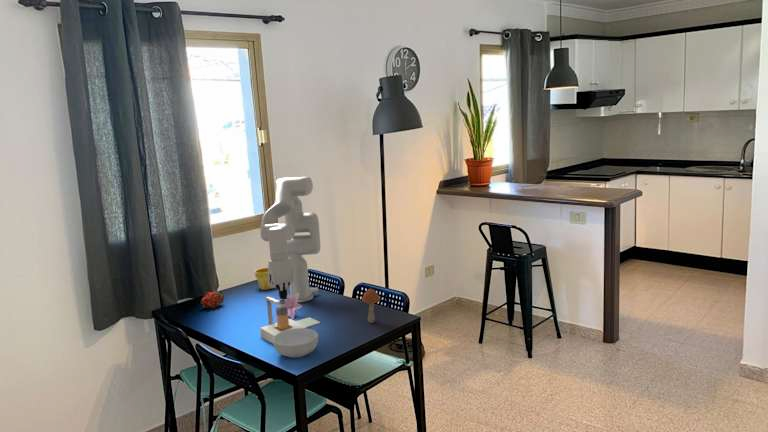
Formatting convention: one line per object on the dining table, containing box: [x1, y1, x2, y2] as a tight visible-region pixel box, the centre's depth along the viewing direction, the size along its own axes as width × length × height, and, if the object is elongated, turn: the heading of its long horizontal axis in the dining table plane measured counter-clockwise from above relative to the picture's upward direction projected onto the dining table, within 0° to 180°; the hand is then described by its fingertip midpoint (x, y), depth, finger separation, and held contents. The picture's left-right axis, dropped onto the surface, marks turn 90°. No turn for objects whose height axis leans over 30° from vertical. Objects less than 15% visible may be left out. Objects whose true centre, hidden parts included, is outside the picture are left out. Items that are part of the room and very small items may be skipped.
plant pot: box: [254, 267, 272, 291], centre depth 311 cm, size 10×10×10 cm
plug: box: [275, 307, 289, 331], centre depth 242 cm, size 5×5×12 cm
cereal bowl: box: [273, 328, 319, 359], centre depth 225 cm, size 17×17×7 cm
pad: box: [295, 316, 321, 329], centre depth 256 cm, size 9×9×1 cm
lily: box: [275, 293, 303, 320], centre depth 268 cm, size 12×12×10 cm
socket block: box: [259, 300, 308, 345], centre depth 244 cm, size 14×20×13 cm
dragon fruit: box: [199, 290, 225, 309], centre depth 286 cm, size 8×8×12 cm
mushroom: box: [361, 287, 381, 324], centre depth 252 cm, size 8×8×15 cm
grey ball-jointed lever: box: [264, 295, 285, 307], centre depth 244 cm, size 14×3×2 cm, turn 38°
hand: (283, 298), depth 249 cm, fingers closed
